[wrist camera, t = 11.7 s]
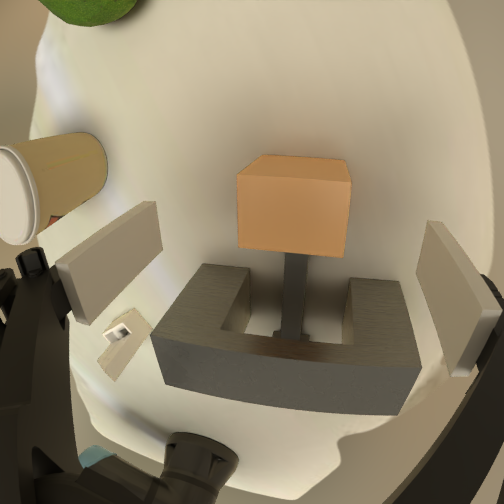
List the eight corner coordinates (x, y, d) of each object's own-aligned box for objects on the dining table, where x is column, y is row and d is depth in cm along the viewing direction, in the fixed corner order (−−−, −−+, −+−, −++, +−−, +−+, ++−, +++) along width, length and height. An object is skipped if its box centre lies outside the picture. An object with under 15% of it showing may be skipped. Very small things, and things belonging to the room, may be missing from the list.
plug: (319, 355, 34) (313, 409, 27) (260, 347, 36) (243, 399, 29) (344, 160, 24) (351, 182, 17) (262, 154, 26) (236, 174, 19)
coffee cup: (60, 199, 33) (-11, 239, 23) (55, 126, 29) (-26, 150, 18) (116, 208, 32) (39, 258, 21) (113, 123, 27) (22, 146, 17)
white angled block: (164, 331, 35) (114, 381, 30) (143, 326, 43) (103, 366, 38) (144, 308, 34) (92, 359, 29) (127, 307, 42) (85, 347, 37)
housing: (386, 328, 31) (397, 415, 21) (207, 309, 35) (165, 384, 25) (398, 281, 28) (422, 367, 18) (202, 263, 32) (149, 334, 22)
